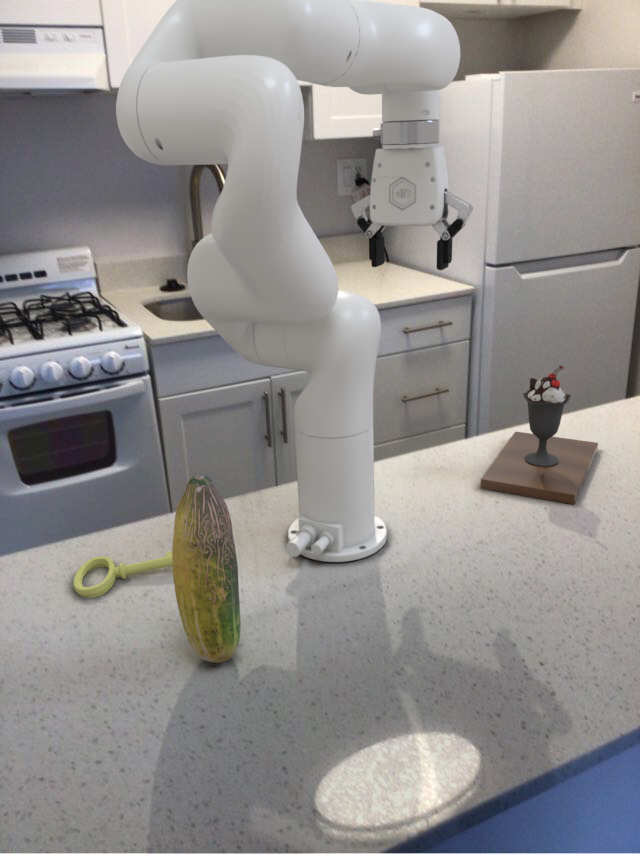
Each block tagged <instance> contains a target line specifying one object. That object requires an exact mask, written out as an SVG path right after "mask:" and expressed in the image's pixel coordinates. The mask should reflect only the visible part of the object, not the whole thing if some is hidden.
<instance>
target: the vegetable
mask: <svg viewBox="0 0 640 854" xmlns="http://www.w3.org/2000/svg"><path fill="white" fill-rule="evenodd" d="M229 511H230V510H229V508H228V506H227V504H226V502H225V499H224V498H223V496H222V495H221V494H220V492H219V491H218V489H217V487H216V485H215V483H214V481H213V480H212V479H211V477H210V476H208V475H206V474H204V473H199V474H195V475H193V476H192V477H190V479H189V480H188V482H187V484H186V487H185V490H184V491H183V494H182V496H180V499H179V500H178V503H177V506H176V511H175V516H174V525H173V538H172V547H171V552H172V558H173V566H172V578H173V585H174V594H175V598H176V604H177V608H178V612H179V617H180V620H181V624H182V628H183V630H184V634H185V636H186V639H187V641H188V644H189V646H190V647H191V649H192V650H193V652H194V653H195V654H196V655H197V656H198V657H199V658H201V659H202V660H203V661H206V662H208V663H215V664H220V663H224V662H227V661H229V659H231V658H232V657H233V656H234V655H235V653H236V651H237V650H238V649H239V648H238V647H239V644H240V641H241V606H240V605H241V603H240V588H239V586H240V585H239V567H238V557H237V550H236V544H235V539H234V531H233V524H232V519H231V515H230V512H229Z"/></svg>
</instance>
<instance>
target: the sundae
mask: <svg viewBox="0 0 640 854" xmlns="http://www.w3.org/2000/svg"><path fill="white" fill-rule="evenodd" d="M564 368H565V367H564V366H563V365H559V366H558V367H557V368H556V369H555V370H554V371H553V372H552V373H549V374H547V375H548V376H543V377H540V378H539V379H537V378H534V377H530V378H529V389H528V390H526V391H525V392H523V393H522V397H523V399H524V400H525V401H526V402H527V413H528V423H529V430H530V432H531V434H534V435H535V436H536V437H538V439H539V447H538V450H537V452H536V453H530V454H527V455H526V456H525V461H526V462H528V463H530V464H532V465H536V466H553V465H555V464H557V463H558V462H559V459H558V458H557V457H556V456H554V455H552V454H549V453H548V452H547V447H546V445H547V440H548V439H549V438H551V437H555V435H556V434H557V433H558V431H559V428H560V425H561V421H562V416H563V413H564V408H565V405H567V404H568V403H569V402H570V400H571V397H572V396H571V394H567V393H565V391H564V389H563V388H562V387H561V381H560V380H558V379H557V375H558V373H559V372H560V371H562V370H563V369H564Z"/></svg>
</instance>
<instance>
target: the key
mask: <svg viewBox="0 0 640 854" xmlns="http://www.w3.org/2000/svg"><path fill="white" fill-rule="evenodd" d="M168 567H169V568H170V567H173V558H172V551H171V550H168V551H165V556H164V557H163V556H162V557H158V558H154V559H149V560H144V561H140V562H135V563H130V564H125V562H120V563H119V564H118V566H116V564H115V562H114V560H113V559H112V558H111V557H109V556H106V555H105V556H104V555H100V556H96V557H93V558H90V559H88V560H87V561H85V562H84V563H83V564H82V565H81V566H80V567H78V569H77V571H76V573H75V575H74V578H73V583H72V587H73V589H74V591H75V592H76V593H77V594H78V595H79V596H81V597H82V598H87V599H91V598H98V597H100V596H102V595H104V594H106V593H107V592H109V591H110V590H111V589H112V587H113V586H114V584H115V583H116V579H117V578H120V577H121V579H122V580H126V579H127V577H128V576H129V575H130V576H131V575H134V574H140V573H144V572H148V571H154V570H159V569H163V568H168ZM96 568H107V569H108V572H107V574H106V576H105V578H103V580H102V581H101V582H99V583H98V584H95V585H93V586H84V584H83V579H84V578H85V577H86V575H87V574H88V573H89V572H91V571H92V570H94V569H96Z"/></svg>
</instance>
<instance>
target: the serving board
mask: <svg viewBox="0 0 640 854" xmlns="http://www.w3.org/2000/svg"><path fill="white" fill-rule="evenodd" d="M538 447H539V439H538V437H536V436H535V435H534V434H533V433H529V432H522V431H514V432H513V434H512V436H511V437H510V438H509V439H508V441H507V442H506V443H505V445H504V446H503V448H502V449H501V451H500V452H499V453H498V454H497V456H496V458H495V459H494V460H493V462H492V463H491V465H490V466H489V467H488V468H487V470H486V471H485V472H484V474H483V476H482V477H481V478H480V489H483V490H487V491H488V490H489V491H493V492H494V491H495V492H500V493H505V494H511V495H516V496H523V497H527V498H528V497H529V498H535V499H540V500H546V501H552V502H556V503H557V502H558V503H564V504H570V505H575V504H576V501H577V499H578V497H579V495H580V492H581V490H582V487H583V485H584V484H585V481H586V478H587V476H588V474H589V471H590V469H591V467H592V464H593V462H594V460H595V458H596V456H597V453H598V448H599V442H595V441H589V440H588V441H587V440H580V439H574V438H566V437H559V436H552V437H551V438H549V439H548V440H547V445H546V447H547V452H548V453H549V454H552V455H554V456H556V457H557V458H558V459H559V462H558V463H557V464H555V465H553V466H536V465H532V464H530V463H528V462H526V461H525V456H526V455H527V454H530V453H536V452H537V450H538Z"/></svg>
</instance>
